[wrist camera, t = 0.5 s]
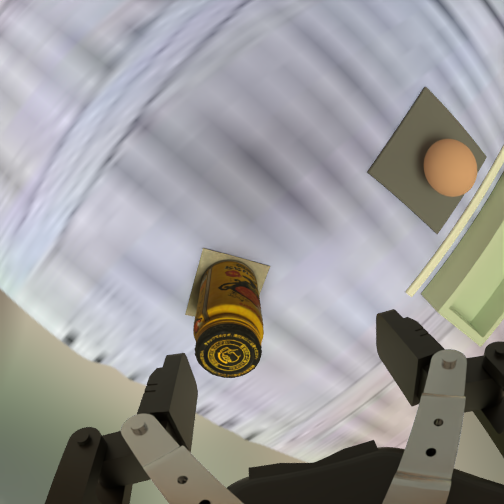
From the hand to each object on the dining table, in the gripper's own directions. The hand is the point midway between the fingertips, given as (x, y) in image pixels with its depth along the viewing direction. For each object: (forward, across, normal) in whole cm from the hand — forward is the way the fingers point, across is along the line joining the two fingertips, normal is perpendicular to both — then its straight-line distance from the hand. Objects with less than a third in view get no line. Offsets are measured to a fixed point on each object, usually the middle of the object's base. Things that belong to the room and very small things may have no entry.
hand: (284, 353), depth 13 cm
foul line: (+21, -26, +3) cm, 33 cm away
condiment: (+22, +4, +6) cm, 23 cm away
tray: (+21, -32, +9) cm, 39 cm away
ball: (+20, -21, -4) cm, 29 cm away
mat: (+20, -21, -4) cm, 30 cm away
